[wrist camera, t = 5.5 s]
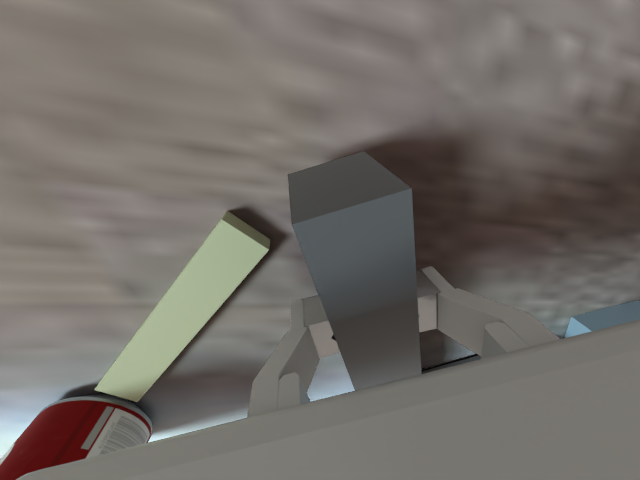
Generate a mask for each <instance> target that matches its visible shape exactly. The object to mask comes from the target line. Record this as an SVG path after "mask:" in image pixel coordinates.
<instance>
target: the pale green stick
mask: <svg viewBox="0 0 640 480" xmlns="http://www.w3.org/2000/svg"><path fill="white" fill-rule="evenodd" d="M269 247H270V239H269V238H267V237H266V236H264V235H263V234H261V233H260V232H258V231H257V230H255V229H254V228H252V227H251V226H249V225H248V224H246V223H245V222H243V221H242V220H240V219H239V218H237V217H236V216H235V215H233V214H232V213H230V212H229V211H227V212H226V213H225V214H224V216H223V217H222V218H221V220H220V221H219V222H218V224H217V225H216V226H215V228H214V229H213V230H212V232H211V233H210V234H209V236H208V237H207V238H206V240H205V241H204V243H203V244H202V245H201V247H200V248H199V249H198V251H197V252H196V253H195V255H194V256H193V257H192V259H191V260H190V261H189V263H188V264H187V265H186V267H185V268H184V269H183V271H182V272H181V273H180V275H179V276H178V277H177V279H176V280H175V281H174V283H173V284H172V285H171V287H170V288H169V289H168V291H167V292H166V293H165V295H164V296H163V297H162V299H161V300H160V302H159V303H158V304H157V306H156V307H155V308H154V310H153V311H152V312H151V314H150V315H149V316H148V318H147V319H146V320H145V322H144V323H143V324H142V326H141V327H140V328H139V330H138V331H137V332H136V334H135V335H134V336H133V338H132V339H131V340H130V342H129V343H128V344H127V346H126V347H125V348H124V350H123V351H122V352H121V354H120V355H119V356H118V358H117V359H116V361H115V362H114V363H113V365H112V366H111V367H110V369H109V370H108V371H107V373H106V374H105V375H104V377H103V378H102V380H101V381H100V382H99V384H98V385H97V387H96V388H95V389H94V390H96V391H100V392H103V393H107V394H110V395H114V396H117V397H121V398H124V399H128V400H131V401H135V402H138V401H139V400H140V399H141V398H142V396H143V395H144V394H145V393H146V392H147V391H148V389H149V388H150V387H151V386H152V385H153V384H154V382H155V381H156V380H157V379H158V378H159V377H160V376H161V374H162V373H163V372H164V371H165V370H166V369H167V367H168V366H169V365H170V364H171V363H172V362H173V360H174V359H175V358H176V357H177V356H178V355H179V354H180V352H181V351H182V350H183V349H184V348H185V347H186V345H187V344H188V343H189V342H190V341H191V340H192V338H193V337H194V336H195V335H196V334H197V333H198V332H199V330H200V329H201V328H202V327H203V326H204V325H205V323H206V322H207V321H208V320H209V319H210V318H211V316H212V315H213V314H214V313H215V312H216V311H217V309H218V308H219V307H220V306H221V305H222V304H223V303H224V301H225V300H226V299H227V298H228V297H229V296H230V294H231V293H232V292H233V291H234V290H235V289H236V287H237V286H238V285H239V284H240V283H241V282H242V281H243V279H244V278H245V277H246V276H247V275H248V274H249V272H250V271H251V270H252V269H253V268H254V267H255V265H256V264H257V263H258V262H259V261H260V260H261V259H262V257H263V256H264V255H265V254H266V253H267V252H268V250H269Z"/></svg>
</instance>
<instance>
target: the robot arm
mask: <svg viewBox="0 0 640 480" xmlns="http://www.w3.org/2000/svg"><path fill="white" fill-rule="evenodd" d="M416 277H417V296H418V315H419V332H423V331H428V330H432V329H437V328H438V330H439V331H441V332H443V333H444V334H446V335H447V336H449V337H451V338H452V339H454V340H455V341H457V342H459V343H460V344H462V345H463V346H465V347H467V348H468V349H470V350H471V351H473V352H474V353H476V354H478V355H479V356H481V359H480V360H476V361H472V362H468V363H464V364H460V365H456V366H452V367H448V368H444V369H440V370H436V371H432V372H428V373H424V374H420V375H416V376H412V377H408V378H404V379H400V380H396V381H392V382H388V383H384V384H380V385H376V386H372V387H368V388H364V389H360V390H356V391H352V392H348V393H344V394H340V395H336V396H332V397H328V398H324V399H320V400H316V401H312V402H310V400H309V397H308V395H307V393H306V392H307V390H308V387H309V385H310V382H311V380H312V377H313V375H314V372H315V370H316V367H317V365H318V362H319V360H320V359H319V358H322V357H325V356H329V355H332V354H336V353H339V347H338V344H337V342H336V339H335V336H334V334H333V331H332V329H331V326H330V323H329V321H328V318H327V315H326V313H325V310H324V308H323V305H322V302H321V300H320V297H319V295H317V296H313V297H308V298H304V299H300V300H296V301H292V302H291V331H288V332H287V333H286V334H285V336H284V337H283V339H282V340H281V342H280V343H279V344H278V346H277V347H276V349H275V350H274V352H273V353H272V355H271V356H270V357H269V359H268V360H267V362H266V363H265V365H264V366H263V368H262V369H261V370H260V372H259V373H258V375H257V376H256V378H255V379H254V381H253V383H252V390H251V396H250V403H249V410H248V416H247V418H245V419H241V420H237V421H233V422H229V423H225V424H221V425H217V426H213V427H209V428H205V429H201V430H197V431H193V432H189V433H185V434H181V435H177V436H173V437H169V438H165V439H161V440H157V441H153V442H149V443H145V444H141V445H137V446H133V447H129V448H125V449H121V450H117V451H114V452H110V453H106V454H102V455H98V456H94V457H90V458H86V459H82V460H78V461H74V462H70V463H66V464H62V465H57V466H53V467H48V468H44V469H40V470H37V471H33V472H30V473H27V474H25V475H23V476H21V477H19V478H18V479H16V480H640V319H639V320H635V321H631V322H627V323H623V324H619V325H615V326H611V327H607V328H603V329H599V330H595V331H591V332H587V333H583V334H579V335H575V336H571V337H567V338H563V339H560V338H558V337H557V336H556V335H555V334H554V333H552V332H551V331H550V330H549V329H547V328H546V327H545V326H544V325H543V324H541V323H540V322H539V321H538V320H536V319H535V318H534V317H533V316H532V315H530V314H529V313H527V312H525V311H522V310H519V309H516V308H513V307H510V306H507V305H505V304H502V303H499V302H496V301H493V300H490V299H487V298H485V297H482V296H479V295H476V294H473V293H470V292H467V291H465V290H462V289H459V288H458V289H454V288H453V287H452V286H451V285H450V284H449V283H448V282H447V281H446V280H445V279H444V278H443V277H442V276H441V275H440V274H439V273H438V271H437V270H436V269H435V268H434V267H432V266H430V267H426V268H422V269H419V270H416Z"/></svg>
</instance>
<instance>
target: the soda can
mask: <svg viewBox="0 0 640 480" xmlns="http://www.w3.org/2000/svg"><path fill="white" fill-rule="evenodd" d="M152 430H153V427H152V423H151V421H150V419H149V418H148V416H147V415H146V414H145V413H144V412H143V411H141V409H140V408H139V407H138V406H136V405H135V404H133V403H132V402H130V401H128V400H125V399H122V398H119V397H115V396H110V395H86V396H80V397H72V398H67V399H63V400H59V401H57V402H54V403H52V404H50V405H48V406H47V407H45V408H44V409H43V410H42V411H41V412H40V413H39V414H38V416H37V417H36V418H35V419H34V420H33V422H32V423H31V424H30V425H29V426H28V427H27V429H26V430H25V431H24V432H23V433H22V435H21V436H20V437H19V438H18V439H17V440H16V442H15V443H14V444H13V445H12V446H11V447H10V449H9V450H8V451H7V452H6V453H5V455H4V456H3V457H2V458H1V459H0V480H16V479H18V478H19V477H21V476H23V475H25V474H27V473H30V472H33V471H37V470H40V469H44V468H48V467H53V466H57V465H62V464H66V463H70V462H74V461H78V460H82V459H86V458H90V457H94V456H98V455H102V454H106V453H110V452H114V451H117V450H121V449H125V448H129V447H133V446H137V445H141V444H145V443H148V441H149V439H150V437H151V434H152Z"/></svg>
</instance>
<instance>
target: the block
mask: <svg viewBox="0 0 640 480" xmlns="http://www.w3.org/2000/svg"><path fill="white" fill-rule="evenodd" d="M639 319H640V301H639V300H636V301H632V302H628V303H624V304H620V305H616V306H612V307H608V308H605V309H601V310H597V311H593V312H589V313H585V314H581V315H577V316H573V317H571V320H570V323H569V326H568V328H567V331H566V334H565V337H564V338H567V337H571V336H575V335H579V334H583V333H587V332H591V331H595V330H599V329H603V328H607V327H611V326H615V325H619V324H623V323H627V322H631V321H635V320H639Z"/></svg>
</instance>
